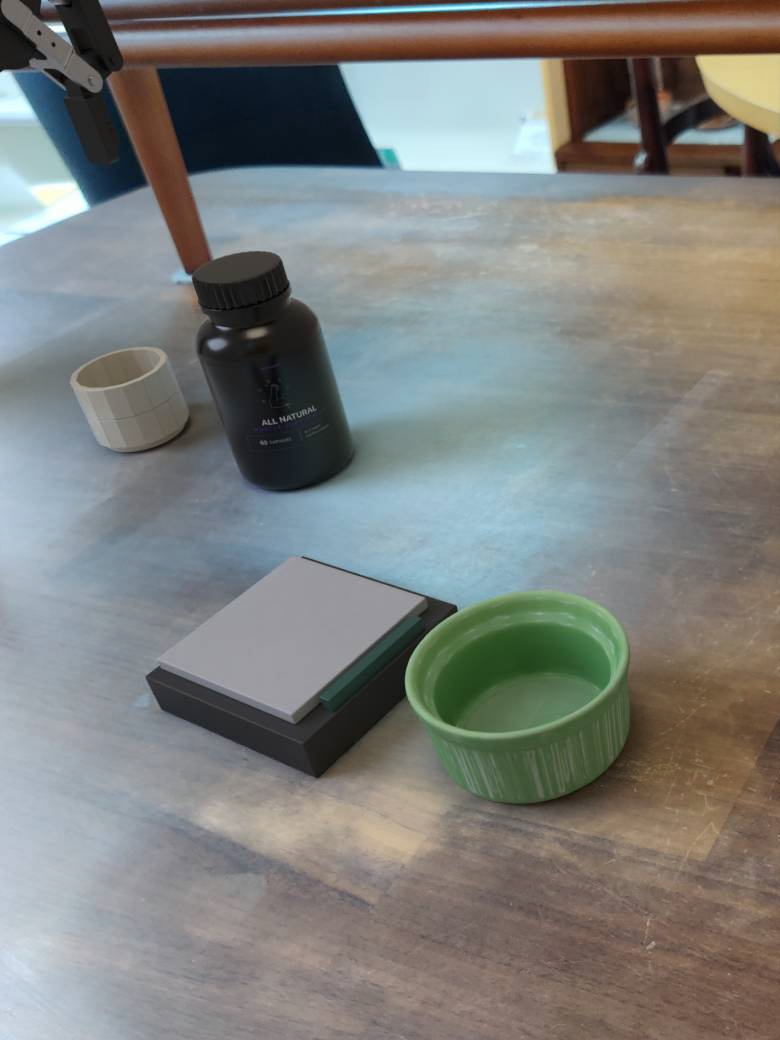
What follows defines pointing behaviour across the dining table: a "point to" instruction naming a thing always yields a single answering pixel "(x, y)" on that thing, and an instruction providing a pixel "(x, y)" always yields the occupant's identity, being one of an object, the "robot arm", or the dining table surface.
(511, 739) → the ramekin
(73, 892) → the dining table surface
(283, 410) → the supplement bottle
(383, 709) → the kitchen scale
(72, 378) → the cream bowl
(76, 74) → the robot arm
